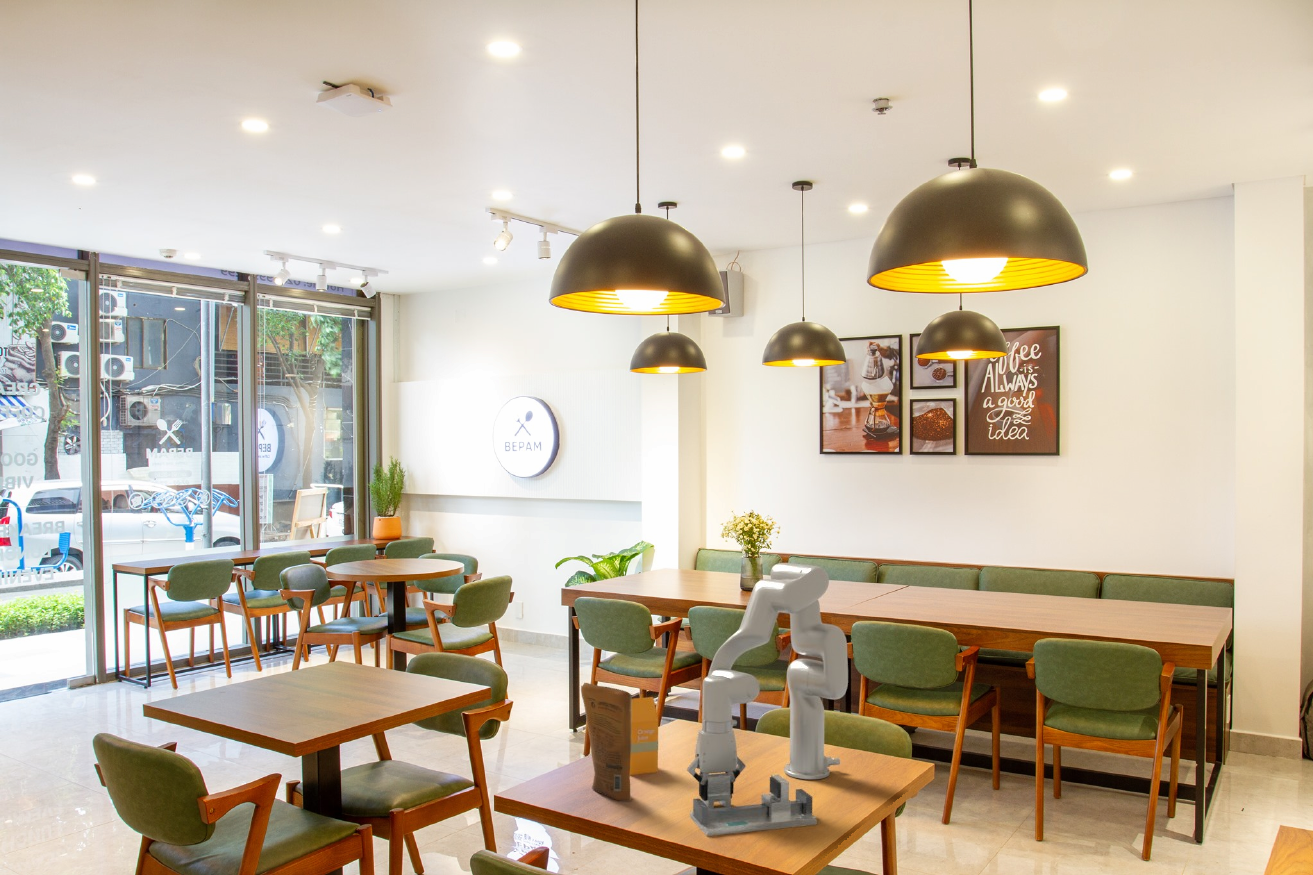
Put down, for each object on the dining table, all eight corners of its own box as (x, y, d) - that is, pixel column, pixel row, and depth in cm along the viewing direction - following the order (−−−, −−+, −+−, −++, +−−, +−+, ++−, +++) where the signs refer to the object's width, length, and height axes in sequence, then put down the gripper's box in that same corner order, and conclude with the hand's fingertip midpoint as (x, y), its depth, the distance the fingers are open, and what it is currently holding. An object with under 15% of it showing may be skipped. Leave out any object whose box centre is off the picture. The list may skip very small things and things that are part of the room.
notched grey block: (701, 803, 238) (701, 771, 238) (723, 801, 240) (724, 769, 240) (708, 810, 233) (708, 777, 234) (730, 808, 235) (731, 775, 235)
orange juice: (618, 767, 267) (619, 696, 268) (647, 763, 270) (648, 693, 271) (628, 775, 260) (630, 702, 260) (658, 771, 263) (659, 699, 264)
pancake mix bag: (620, 806, 235) (621, 693, 236) (577, 786, 250) (578, 680, 251) (641, 800, 240) (642, 690, 241) (597, 781, 254) (599, 677, 255)
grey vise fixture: (796, 806, 236) (796, 768, 237) (817, 824, 225) (818, 784, 225) (688, 817, 228) (689, 778, 229) (705, 836, 217) (706, 794, 217)
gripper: (742, 719, 243) (742, 790, 243) (679, 724, 238) (679, 796, 238) (754, 727, 236) (753, 800, 236) (689, 732, 231) (688, 806, 231)
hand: (716, 797), depth 237 cm, fingers closed on notched grey block, 6 cm apart
